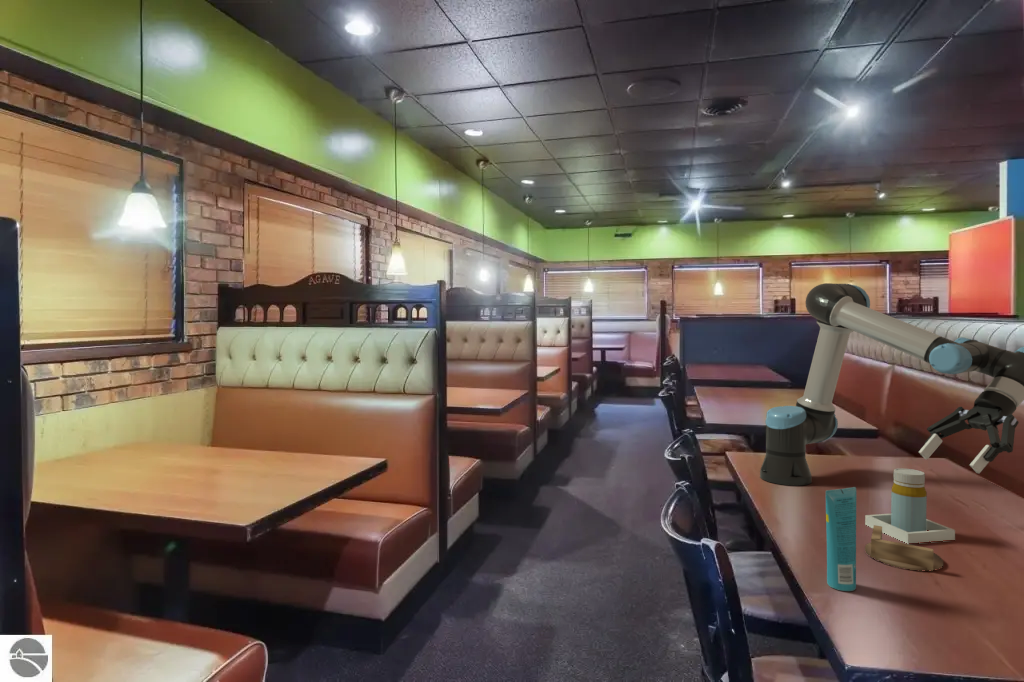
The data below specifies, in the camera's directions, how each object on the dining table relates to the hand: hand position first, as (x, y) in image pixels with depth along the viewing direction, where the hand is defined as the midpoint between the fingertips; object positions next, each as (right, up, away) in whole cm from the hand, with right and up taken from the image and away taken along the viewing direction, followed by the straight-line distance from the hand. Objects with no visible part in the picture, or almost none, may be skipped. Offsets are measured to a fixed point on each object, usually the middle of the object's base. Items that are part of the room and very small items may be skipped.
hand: (947, 462), depth 138 cm
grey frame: (-10, -17, -1) cm, 20 cm away
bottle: (-10, -17, -1) cm, 20 cm away
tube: (-43, -18, -28) cm, 54 cm away
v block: (-22, -17, -15) cm, 32 cm away
